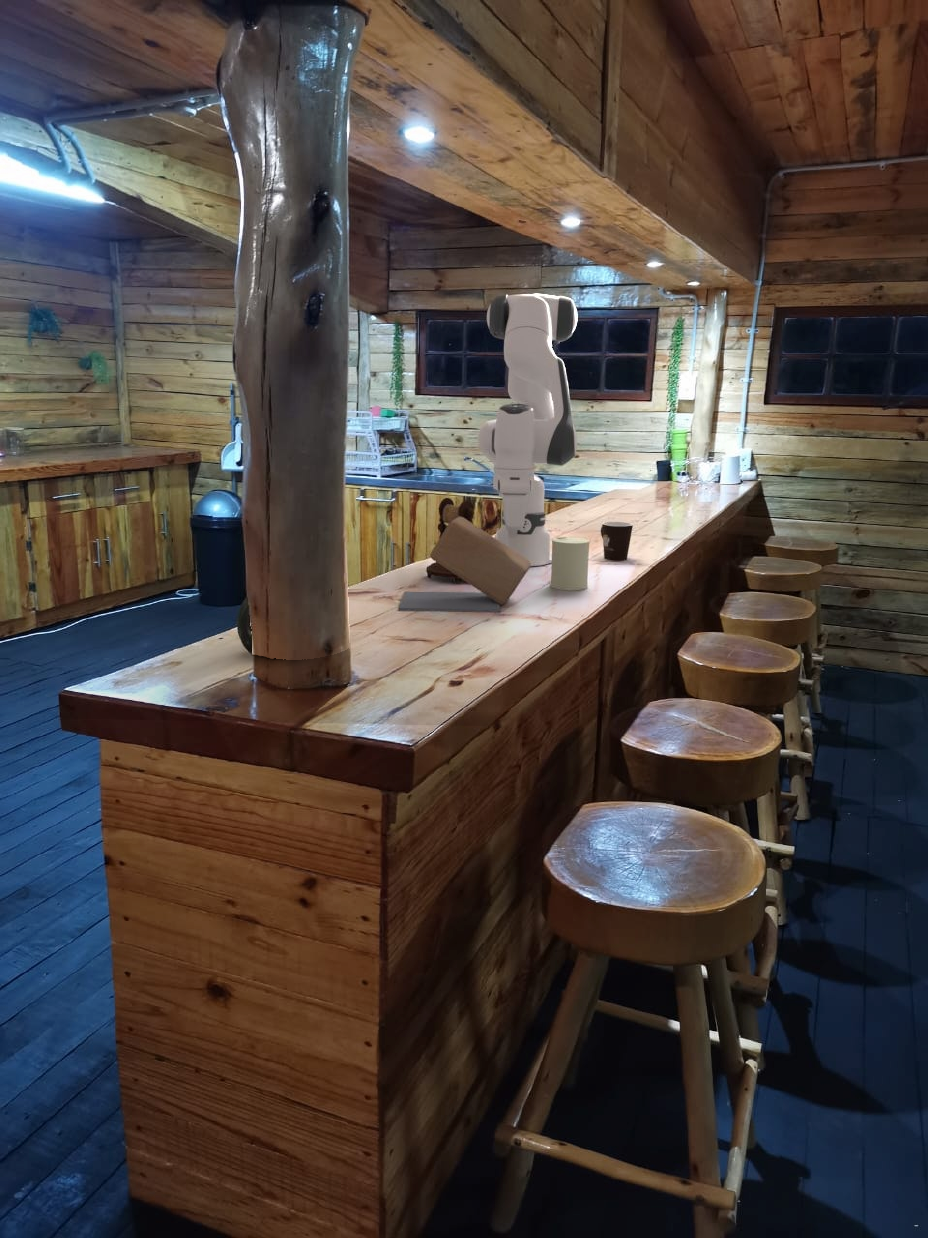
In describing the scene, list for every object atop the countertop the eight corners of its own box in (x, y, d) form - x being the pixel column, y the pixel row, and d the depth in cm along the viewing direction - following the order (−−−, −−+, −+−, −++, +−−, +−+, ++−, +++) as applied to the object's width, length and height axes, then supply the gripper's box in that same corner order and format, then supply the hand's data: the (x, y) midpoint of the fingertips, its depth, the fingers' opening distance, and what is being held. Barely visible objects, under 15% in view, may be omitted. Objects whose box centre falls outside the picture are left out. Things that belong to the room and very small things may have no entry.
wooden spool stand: (496, 577, 228) (498, 499, 222) (457, 586, 217) (458, 504, 212) (453, 569, 237) (454, 494, 232) (414, 577, 226) (414, 498, 221)
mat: (404, 593, 209) (404, 591, 209) (498, 595, 208) (498, 592, 208) (398, 610, 193) (398, 607, 193) (500, 612, 193) (500, 609, 193)
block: (527, 570, 194) (450, 519, 195) (502, 607, 197) (427, 557, 198) (533, 562, 203) (460, 514, 204) (509, 597, 206) (438, 550, 207)
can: (566, 580, 225) (568, 533, 222) (595, 586, 219) (597, 538, 216) (542, 586, 219) (543, 537, 216) (571, 592, 213) (573, 542, 210)
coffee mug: (633, 561, 251) (635, 526, 248) (602, 561, 251) (604, 525, 248) (626, 554, 262) (628, 520, 260) (597, 553, 262) (598, 519, 260)
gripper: (498, 475, 204) (496, 535, 207) (500, 486, 184) (498, 552, 188) (525, 476, 204) (523, 536, 207) (530, 486, 184) (528, 552, 188)
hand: (511, 544), depth 197 cm, fingers closed
